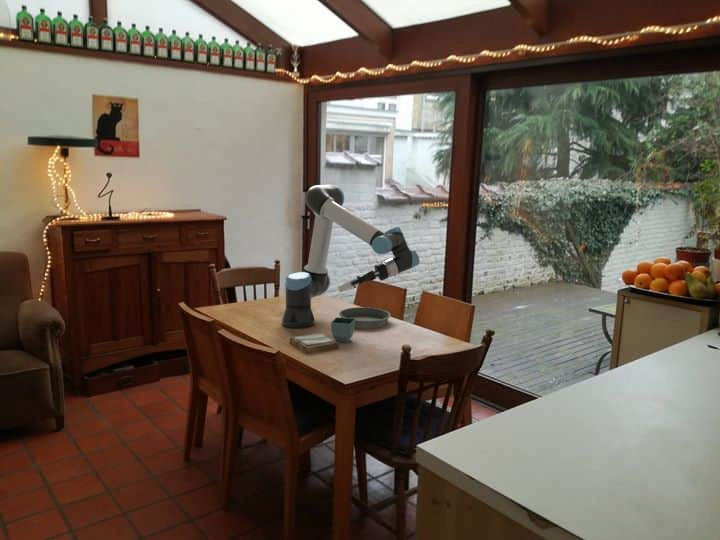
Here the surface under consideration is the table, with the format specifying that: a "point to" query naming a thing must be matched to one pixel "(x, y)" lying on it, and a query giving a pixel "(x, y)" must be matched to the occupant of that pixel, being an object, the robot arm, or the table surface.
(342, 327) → the flower pot
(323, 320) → the table surface
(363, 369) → the table surface
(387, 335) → the table surface
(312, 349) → the stand
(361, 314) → the cake pan
